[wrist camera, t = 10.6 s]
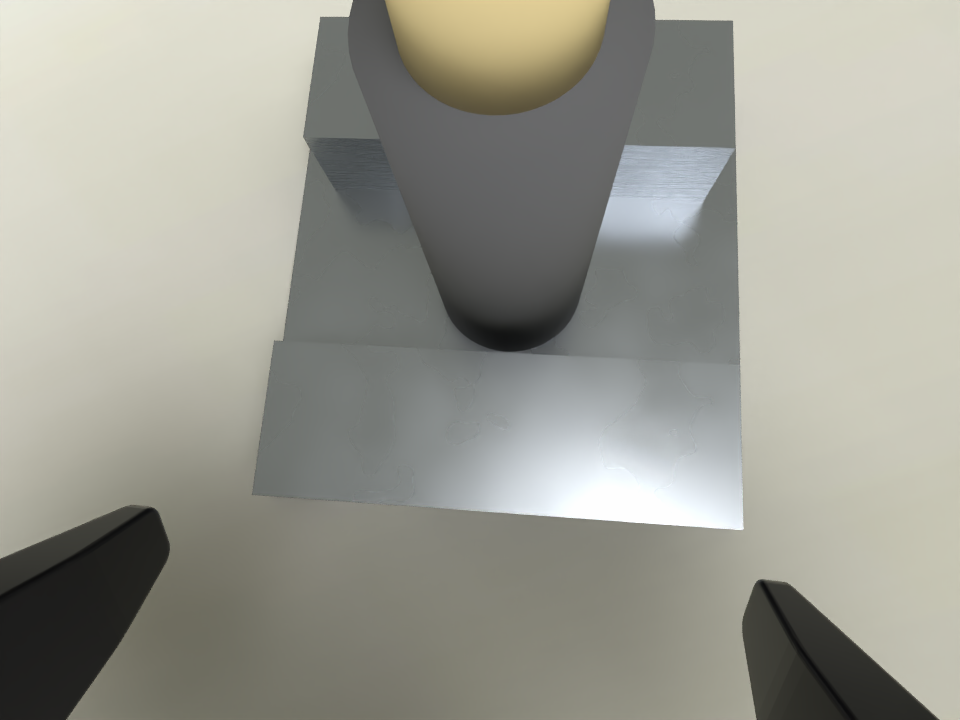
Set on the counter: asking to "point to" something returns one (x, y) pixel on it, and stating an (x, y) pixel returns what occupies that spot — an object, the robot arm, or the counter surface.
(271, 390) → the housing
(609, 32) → the grey and tan cylinder
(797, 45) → the counter surface
